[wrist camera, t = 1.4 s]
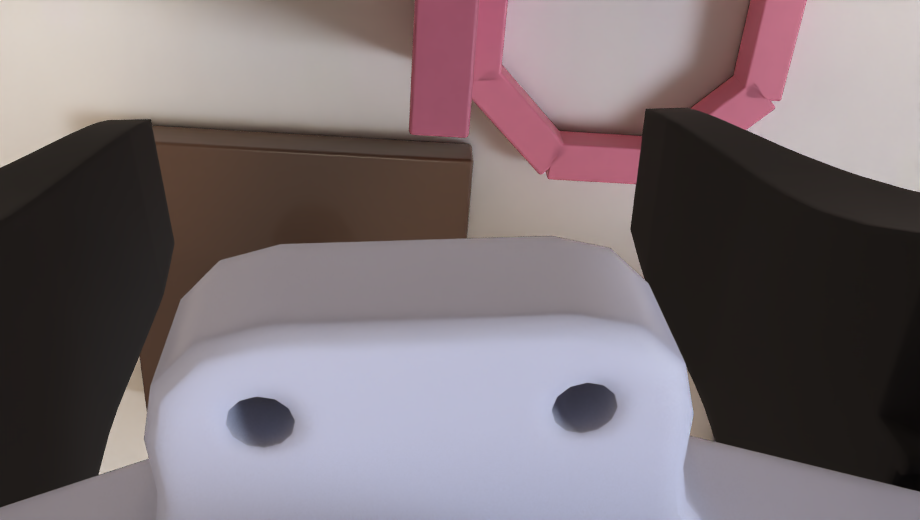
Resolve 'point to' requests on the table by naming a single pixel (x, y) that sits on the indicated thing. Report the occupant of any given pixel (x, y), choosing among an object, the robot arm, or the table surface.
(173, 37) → the table surface
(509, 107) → the pink octagonal frame
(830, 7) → the table surface
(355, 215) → the stand
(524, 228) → the table surface
